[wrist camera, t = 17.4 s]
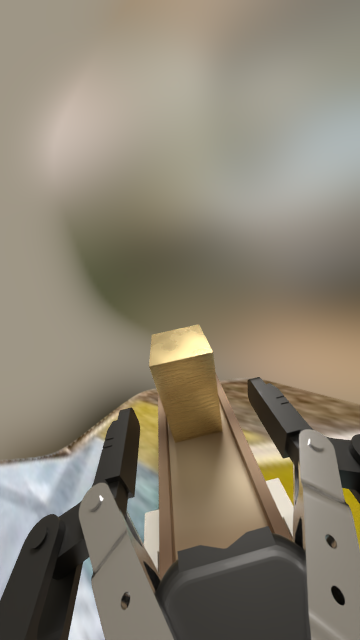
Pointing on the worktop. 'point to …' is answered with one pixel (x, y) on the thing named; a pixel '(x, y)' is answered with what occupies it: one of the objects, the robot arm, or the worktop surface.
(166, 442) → the balance beam
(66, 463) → the worktop surface
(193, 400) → the block
